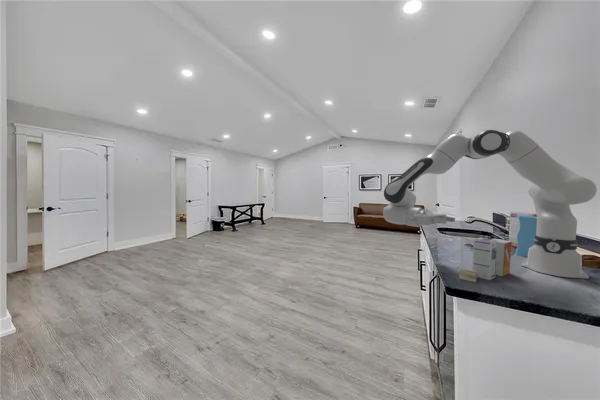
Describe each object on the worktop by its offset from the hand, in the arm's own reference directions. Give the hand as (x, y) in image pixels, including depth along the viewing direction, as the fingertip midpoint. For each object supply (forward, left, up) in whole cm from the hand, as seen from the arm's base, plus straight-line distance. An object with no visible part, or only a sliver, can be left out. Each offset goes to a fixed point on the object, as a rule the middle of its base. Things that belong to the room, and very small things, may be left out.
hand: (450, 220), depth 98 cm
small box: (-10, +14, -20) cm, 27 cm away
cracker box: (-76, +14, -20) cm, 80 cm away
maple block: (+7, +9, -20) cm, 23 cm away
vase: (-57, +17, -20) cm, 63 cm away
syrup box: (0, +12, -20) cm, 24 cm away
